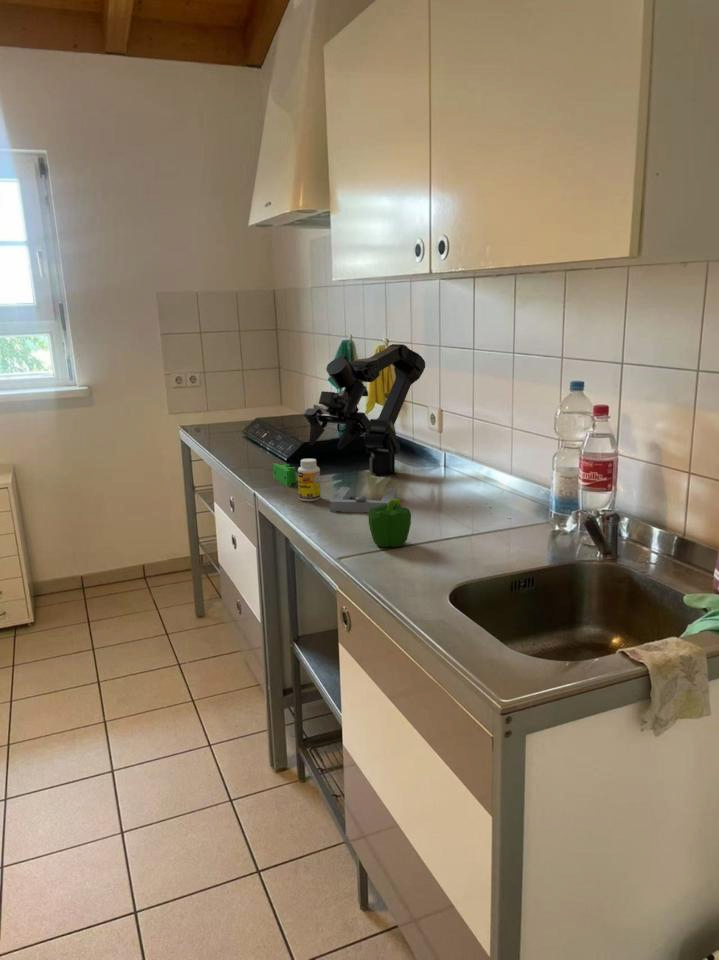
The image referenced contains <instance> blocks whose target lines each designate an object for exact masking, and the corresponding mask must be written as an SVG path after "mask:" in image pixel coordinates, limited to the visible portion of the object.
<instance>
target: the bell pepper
mask: <svg viewBox="0 0 719 960" xmlns="http://www.w3.org/2000/svg"><path fill="white" fill-rule="evenodd" d="M401 502H402V500H401V499H399V498H397V499H392V500H390V501H389V503H388V505H385V504H380V505H378V506H377V507H376V508H372V509H370V512H369V513H368V515H367V516H368V527H369V530H370V533H371V534H370V535H371V537H372V540H373V543H374V544H375V545H376V546H377V547H380V546H381V548H387V547H394V548H399V547H402V546H404V545H405V543H406V542H407V540H408V536H409V532H410V529H411V524H412V513H411V511H410V508H407V507H403V506H402V505H400V504H401ZM393 503H395V504H394V505H393Z"/></svg>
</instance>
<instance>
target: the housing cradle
mask: <svg viewBox="0 0 719 960" xmlns="http://www.w3.org/2000/svg"><path fill="white" fill-rule="evenodd" d="M351 490H352V489H351V487H350V486H349V487H347V486H343V487H340V488H339V489H338V490H337V491H336V493H335V494H334V495H333V497H332V498H331V499H330V500H329V511H335V512H336V511H342V512H341V513H364V512H370V509H372V508H376V507H377V506H378V505H380V504H385V505H388V503H389V501H390V500H392V499H398V488H396V487H395V488H388V487H387V489H386V490H385V492H384V494H383V496H382V498H381V500H371V499H370V500H369V499H367V497H365V496H357V497H355V499H350V498H351V496H352V494H351V492H352V491H351ZM394 504H396V503H393V505H394ZM335 512H334V513H335ZM336 513H337V512H336Z"/></svg>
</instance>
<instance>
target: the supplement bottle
mask: <svg viewBox="0 0 719 960" xmlns="http://www.w3.org/2000/svg"><path fill="white" fill-rule="evenodd" d="M297 481H298V482H297V483H298V485H297V486H298V489H297V490H298V499H299V500H300V501H302V502H316V501H319V500H320V499H321V469H320V467H319V466H317V459H316V458H302V459H301V460H300V466H299V467H298V468H297Z"/></svg>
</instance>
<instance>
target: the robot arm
mask: <svg viewBox="0 0 719 960" xmlns="http://www.w3.org/2000/svg"><path fill="white" fill-rule="evenodd" d="M391 365H392V366H393V367H394V370H393V371H394V375H395V379H394V381H393V384H392V386H391V388H390V389H389V393H388V395H387V397H386V400H385V403H384V405H383V407H382V409H381V411H380V414H379V415H378V417H377V418H371V419H369V417H368V416H367V415H366V413H365V412H359V407H358V405H359V403H360V401H361V398H362V397H368V396H369V391H368V390H367V386H365V385H364V383H373V382H375V381H376V380H377V379H378V378H379V377H380V374H381V372H382V370H385V369H386V368H387V367H389V366H391ZM425 368H426V362H425V359H424V358H423V357H422V356H421V355H420V354H419V353H417V352H416V351H413V350H412V349H411V348H409V347H408V346H407V345H405V344H402V343H400V344H399V343H397V344H395V343H392V344H389V345H388V347H386V348H384V349H382V350H381V351H379V352H377V353H375V354H374V355H373V354H372V356H369V357H368V358H359V359H355V360H352V361H351V362H350V361H349V358H348V357H347V355H346V354H345V355H344V354H339V355H338V357H337V358H334V359H333V360H331V361H330V362H328V364H327V365H326V369H325V370H326V372H327V374H328V376H330V379H332V381H333V383H334V384H335V386H336V387H338V388H340V390H339V391H338V392H334V391H323V390H322V391H321V392H320V396H319V399H318V404H319V405H322V406H324V407H325V411H326V412H327V413H328V414H325V413H323V411H322V410H321V408H311V407H310V408H309V407H308V408H307V409H306V410H305V412H304V414H303V416H304V418H305V419H306V420H307V422H308V423H309V425H310V426H309V427H310V429H309V439H308V444H309V446H313V445H314V444H315V443H316V442H317V441H318V440H319V438H320V437H321V435H323V433H324V432H325V428H326V427H327V425H328V423H329V424H337V425H343V426H345V428H344V430H343V433H342V435H341V437H340V439H339V441H338V443H337V446H336V447H337V449H338V450H341V449H342V448H344V447H345V446H347V445H348V444H349V443H351V442H352V441H354V440H356V439H357V438H358V437H361V436H363V442H364V446H365V451H366V453H370V457H369V473H371V474H373V475H374V476H389V475H391V476H392V475H397V474H398V472H397V471H396V469H395V468H396V466H395V465H396V464H395V463H396V460H395V459H396V455H397V454H398V453H400V449H401V445H400V442H399V441H398V439H397V438H396V436H397V431H396V427H395V424H396V421H397V419H398V417H399V415H400V412H401V410H402V407H403V405H404V403H405V400H406V398H407V395H408V393H409V391H410V388H411V386H412V385H413V384H414V383H415V382H417V381H419V379H420V378H421V376H422V375H423V373H424V370H425Z"/></svg>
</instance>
